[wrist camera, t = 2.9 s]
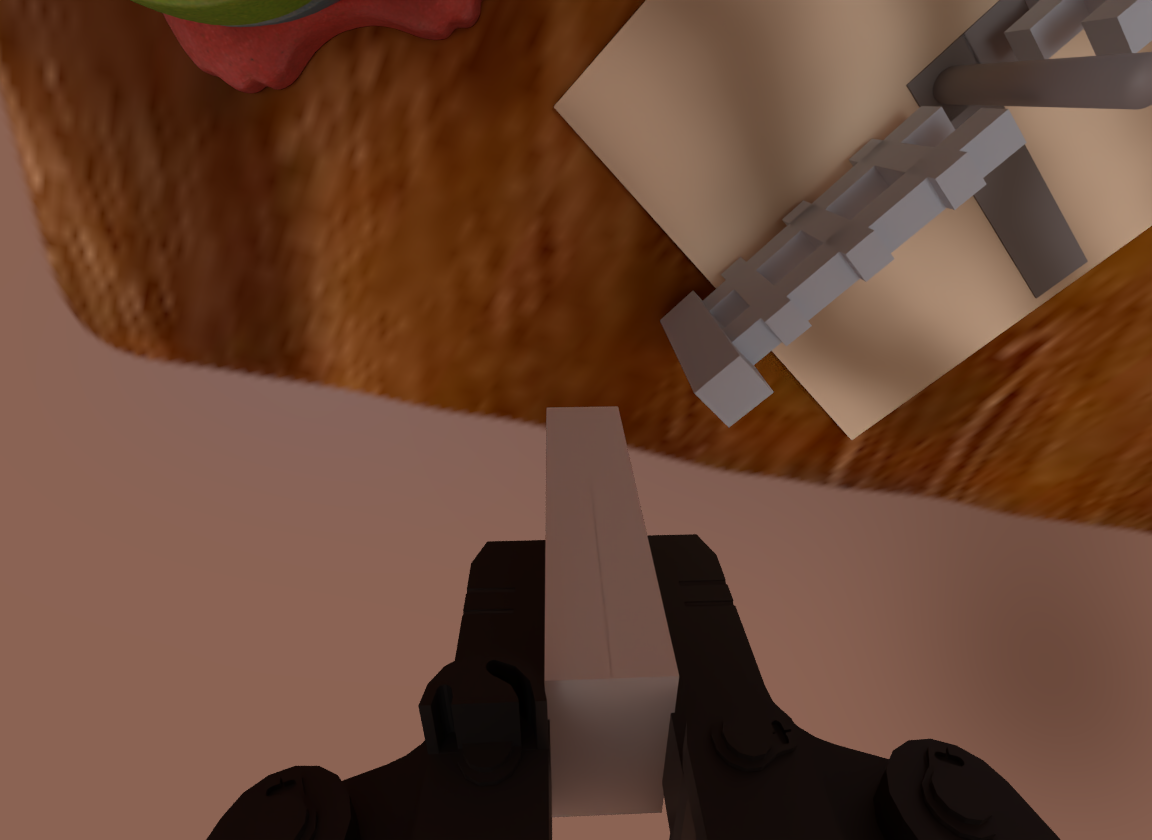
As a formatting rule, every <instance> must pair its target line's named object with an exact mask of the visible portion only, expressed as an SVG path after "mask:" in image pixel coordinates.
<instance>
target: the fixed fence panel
mask: <svg viewBox="0 0 1152 840" xmlns="http://www.w3.org/2000/svg"><path fill="white" fill-rule="evenodd" d="M1025 2H1026V4H1027V6H1028V8H1029V11H1027V12H1026V13H1025V14H1024V15H1023V16H1022V17H1021V18H1020V19H1018V20H1017V21H1016V22H1015V23H1014V24H1013V25H1012V26H1011V27H1009V28H1008V29H1007V30H1006V31H1005V32H1004V34H1005V36H1006V38H1007V40H1008V42H1009V44H1010V46H1011V48H1012V50H1013V52H1014V54H1015V56H1016V58H1017V60H1018V61H1014V62H999V63H985V64H971V65H956V66H950V67H948V68H946V69H945V70H943V71H942V72H941V73H940V74H939V76H938V77H937V79H936V81H935V83H934V87H933V95H934V98H935V99H936V101H937V102H939V103H940V104H949V105H986V106H1022V107H1059V108H1096V109H1133V110H1137V109H1143V108H1146V107H1148V106H1150V105H1152V52H1142V53H1137V52H1138V51H1140V50H1141V49H1142V48H1143V47H1145V46H1146V45H1147V44H1148V43H1149V42H1151V41H1152V0H1025ZM1083 29H1084V30H1085V32H1086V34H1087V37H1088V39H1089V41H1090V43H1091V46H1092V48H1093V50H1094V52H1095V54H1096V56H1085V57H1071V58H1056V59H1049V58H1050V57H1051V56H1053V55H1054V54H1055V53H1056V52H1057V51H1058V50H1060V49H1061V48H1062V47H1063V46H1064V45H1065V44H1067V43H1068V42H1069V41H1070V40H1071V39H1072V38H1074V37H1075V36H1076V35H1077V34H1078V33H1079V32H1081V31H1082V30H1083Z"/></svg>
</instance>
